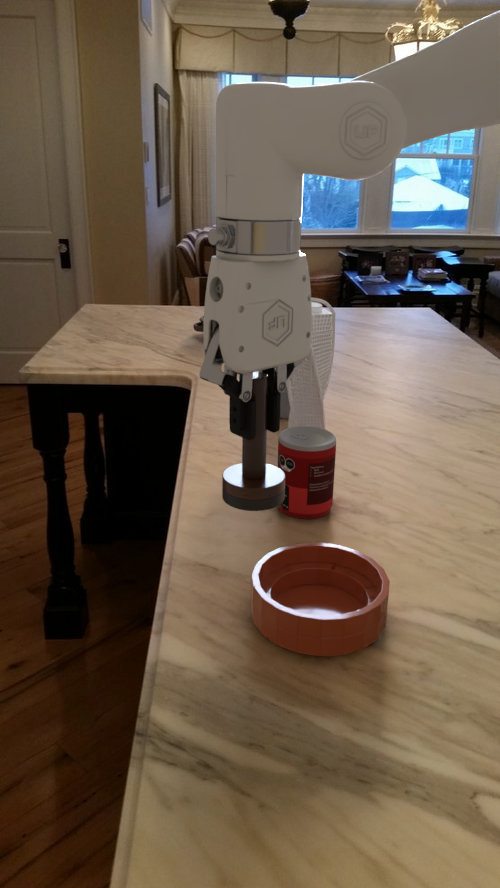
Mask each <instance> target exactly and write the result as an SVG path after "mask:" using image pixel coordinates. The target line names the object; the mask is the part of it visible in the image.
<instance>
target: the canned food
mask: <svg viewBox="0 0 500 888" xmlns="http://www.w3.org/2000/svg"><path fill="white" fill-rule="evenodd" d="M287 428H288V427H287ZM287 428H286V429H283V430H281V431H280V432H279V434H278V441H277V467H278V468H280V469H281V470H283V472H284V473H285V499H284V501H283V502H282V504H280V505H279V506H278V509H279V510H280V511H281V512H282V513H283V514H285V515H286V516H289V517H292V518H295V519H302V520H313V519H318V518H322V517H324V516H326V515H328V514H329V513H330V511H331V509H332V507H333V503H334V502H333V499H334V487H335V486H334V485H335V469H336V455H337V437H336V435H335V433H333V432H331V431H330V430H327V429H326V430H324V429H321V428H316V427H307V426H301V427H292V428H288V429H287Z"/></svg>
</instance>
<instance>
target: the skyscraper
mask: <svg viewBox="0 0 500 888" xmlns="http://www.w3.org/2000/svg"><path fill="white" fill-rule="evenodd" d="M311 304H312V335H311V348H310V352H309V354H308V355H307V357H306V359H305V360H304V361H302V362H301V363H300V364H299V365H298V366H297V367H294V370H293V372H292V373H291V375H290V376H289V378H288V379H287V390H288V398H289V403H290V414H289V419H288V420H287V421H288V422H287V427H286V429H288V428H292V427H301V426H307V427H316V428H321V429H324V430H327V428H326V415H325V407H324V406H325V405H324V400H325V396H326V394H327V390H328V387H329V383H330V378H331V374H332V369H333V363H334V356H335V343H336V342H335V341H336V311H335V309H334V308H333V306H332V305H331V304H330V303H329V302H328V301H326V300H325V299H322V298H320V297H319V298H318V297H311ZM323 305H324V306H326V307H327V309H326V308H324V307H323Z"/></svg>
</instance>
